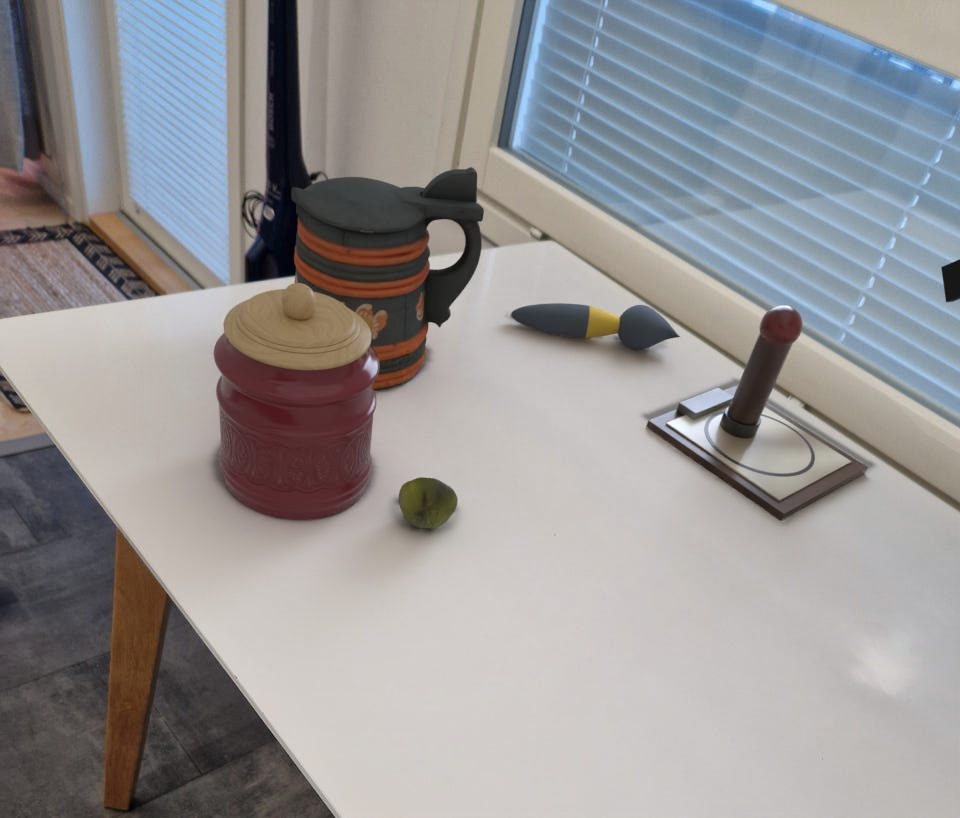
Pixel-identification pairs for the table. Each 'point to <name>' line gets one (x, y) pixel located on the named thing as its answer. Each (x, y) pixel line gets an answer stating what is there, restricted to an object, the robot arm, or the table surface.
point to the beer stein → (387, 257)
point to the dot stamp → (762, 371)
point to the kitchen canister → (295, 403)
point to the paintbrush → (598, 323)
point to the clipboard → (758, 453)
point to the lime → (427, 502)
